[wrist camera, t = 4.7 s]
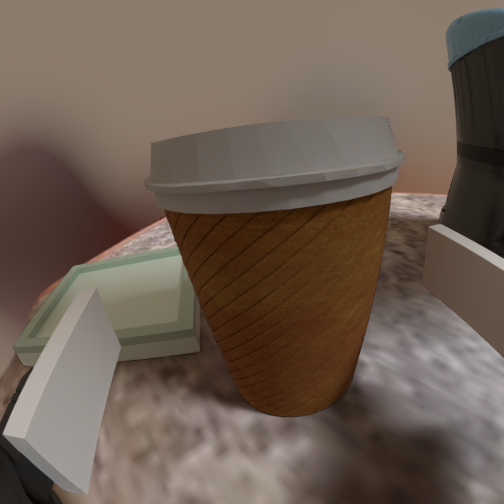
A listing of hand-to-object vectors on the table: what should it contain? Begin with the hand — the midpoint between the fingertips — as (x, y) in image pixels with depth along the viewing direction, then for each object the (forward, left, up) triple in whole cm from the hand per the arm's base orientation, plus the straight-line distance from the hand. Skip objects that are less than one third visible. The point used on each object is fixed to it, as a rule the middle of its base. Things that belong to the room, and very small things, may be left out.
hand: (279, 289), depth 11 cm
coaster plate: (+11, -12, -6) cm, 18 cm away
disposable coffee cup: (-1, -2, -7) cm, 7 cm away
